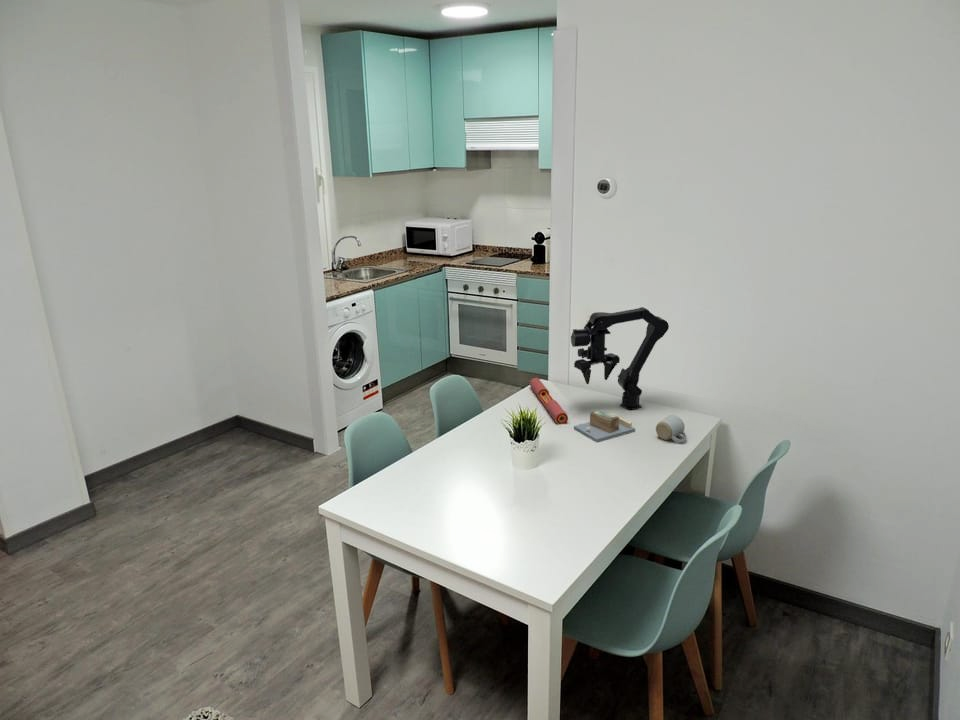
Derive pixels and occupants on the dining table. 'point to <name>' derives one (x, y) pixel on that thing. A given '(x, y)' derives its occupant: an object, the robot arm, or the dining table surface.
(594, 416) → the frame
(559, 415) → the blood vessel
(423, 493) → the dining table surface
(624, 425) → the grey flat panel
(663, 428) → the ceramic mug
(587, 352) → the robot arm
